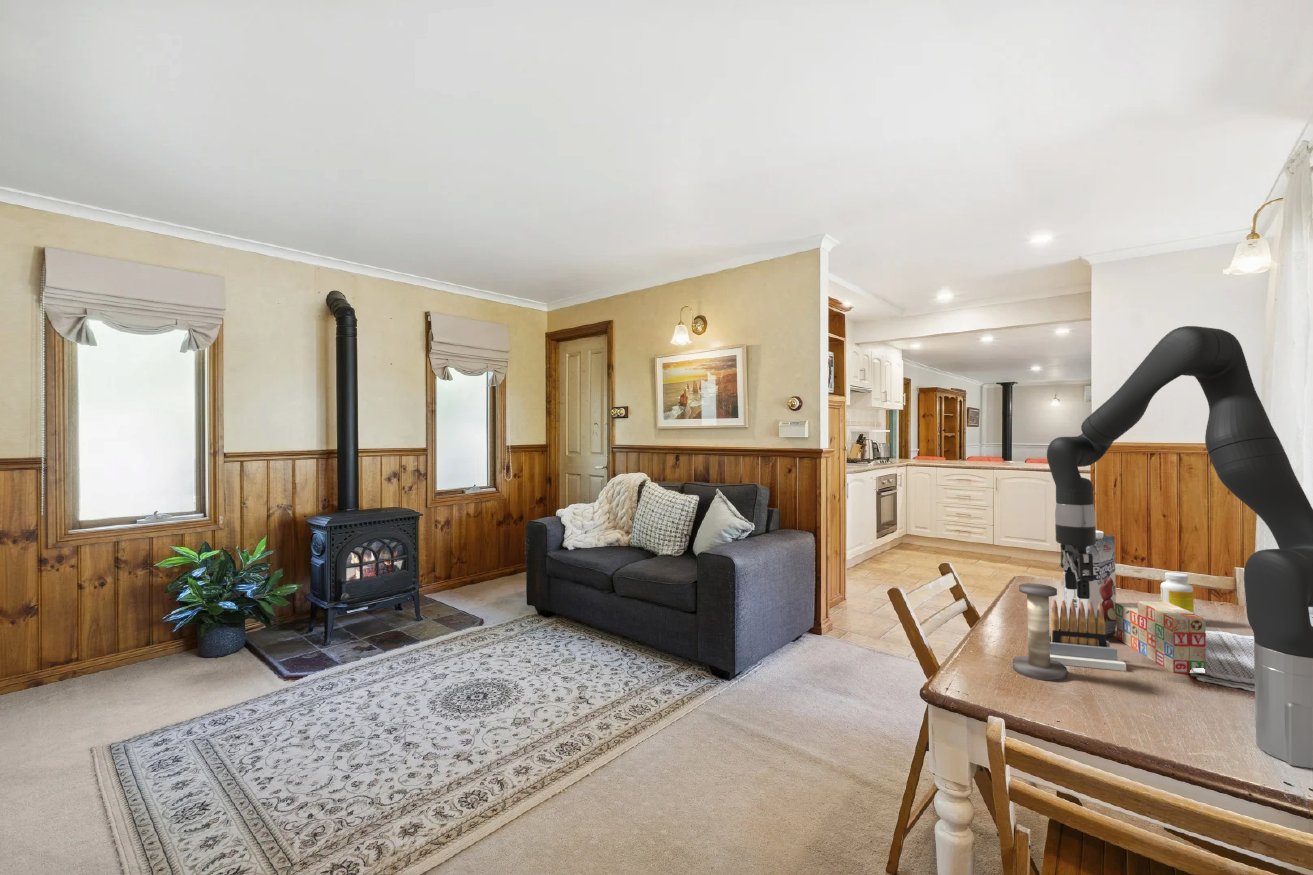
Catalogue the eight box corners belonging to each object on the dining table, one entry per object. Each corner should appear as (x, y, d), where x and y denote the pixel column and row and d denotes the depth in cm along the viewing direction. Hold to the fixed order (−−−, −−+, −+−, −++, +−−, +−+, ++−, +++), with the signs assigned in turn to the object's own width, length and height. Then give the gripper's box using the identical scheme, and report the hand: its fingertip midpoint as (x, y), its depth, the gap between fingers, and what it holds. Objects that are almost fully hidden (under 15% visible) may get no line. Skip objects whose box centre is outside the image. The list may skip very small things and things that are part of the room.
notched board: (1126, 671, 127) (1125, 652, 127) (1045, 663, 132) (1045, 645, 132) (1110, 655, 135) (1110, 638, 135) (1035, 648, 141) (1035, 632, 141)
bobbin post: (1073, 683, 121) (1071, 595, 121) (1018, 677, 125) (1016, 591, 125) (1059, 665, 131) (1057, 583, 131) (1008, 660, 134) (1006, 580, 134)
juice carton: (1059, 632, 152) (1057, 528, 151) (1084, 625, 156) (1081, 525, 156) (1096, 643, 143) (1094, 534, 143) (1121, 636, 148) (1119, 530, 147)
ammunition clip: (1052, 652, 135) (1050, 600, 134) (1049, 649, 136) (1048, 598, 136) (1107, 657, 131) (1106, 604, 131) (1104, 654, 133) (1103, 601, 132)
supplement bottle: (1201, 624, 154) (1200, 576, 154) (1176, 625, 154) (1175, 577, 154) (1178, 616, 161) (1177, 570, 161) (1154, 617, 161) (1153, 571, 161)
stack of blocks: (1115, 638, 146) (1114, 590, 146) (1143, 639, 145) (1142, 590, 145) (1173, 673, 125) (1172, 616, 125) (1207, 675, 124) (1206, 617, 124)
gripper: (1106, 528, 126) (1108, 603, 126) (1083, 519, 139) (1085, 587, 139) (1065, 527, 128) (1067, 600, 128) (1047, 518, 142) (1049, 585, 141)
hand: (1077, 593), depth 133 cm, fingers open, 8 cm apart
